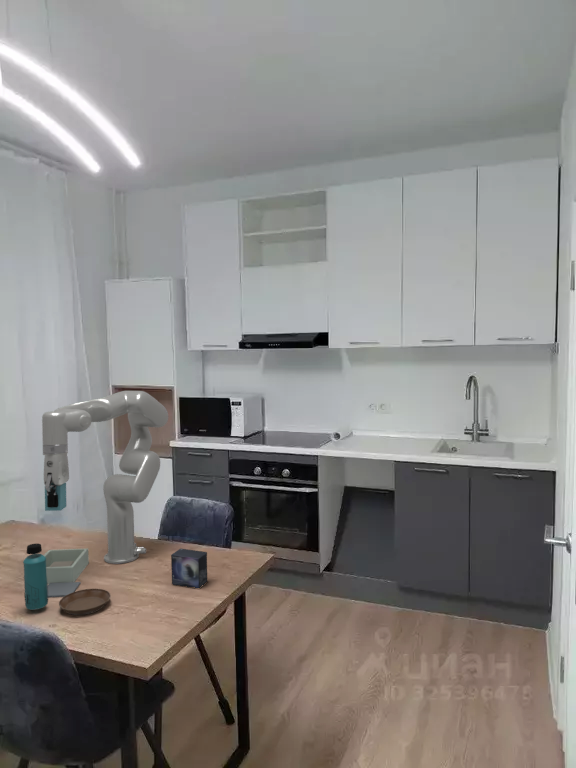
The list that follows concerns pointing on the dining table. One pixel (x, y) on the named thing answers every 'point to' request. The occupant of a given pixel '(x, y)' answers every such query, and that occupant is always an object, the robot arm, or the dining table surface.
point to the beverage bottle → (35, 578)
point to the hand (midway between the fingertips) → (56, 504)
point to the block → (61, 498)
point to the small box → (189, 568)
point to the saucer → (84, 601)
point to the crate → (65, 564)
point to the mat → (62, 588)
